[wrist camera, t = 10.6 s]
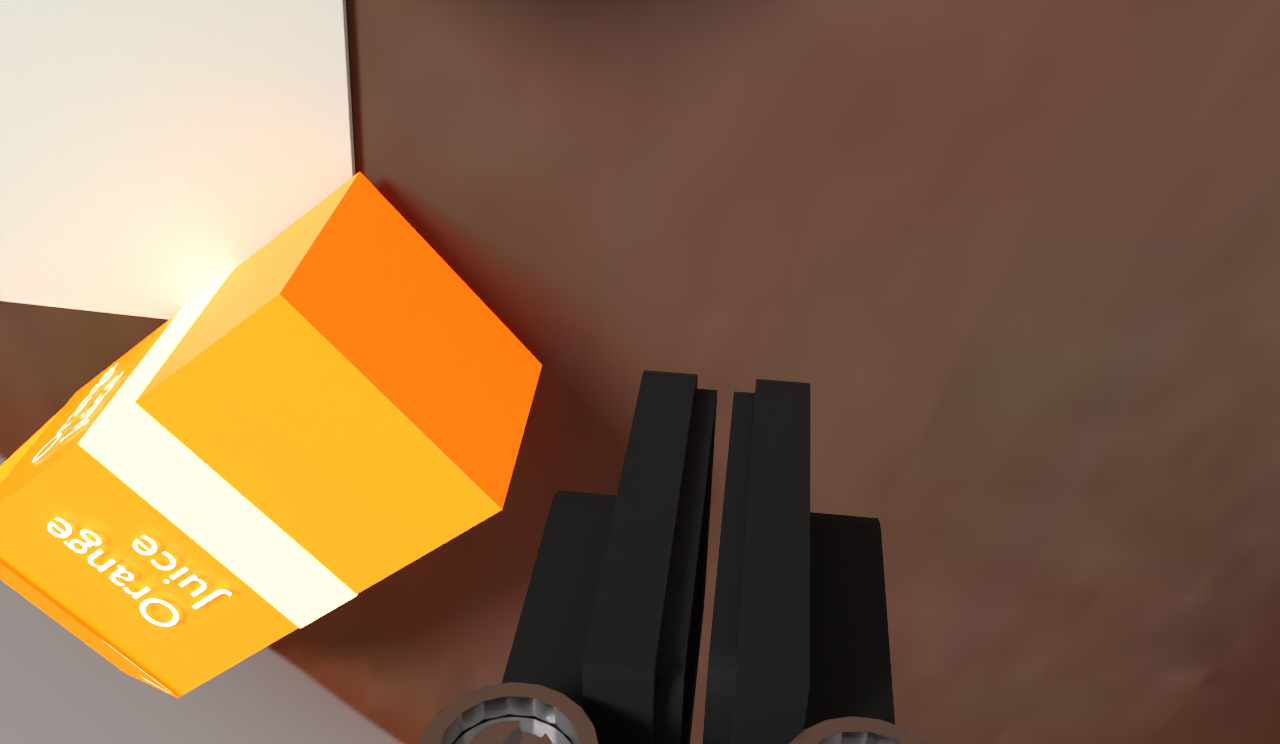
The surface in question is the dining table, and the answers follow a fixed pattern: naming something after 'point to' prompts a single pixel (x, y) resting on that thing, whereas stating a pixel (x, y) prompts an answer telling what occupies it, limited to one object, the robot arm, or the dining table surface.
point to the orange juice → (269, 449)
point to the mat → (162, 142)
